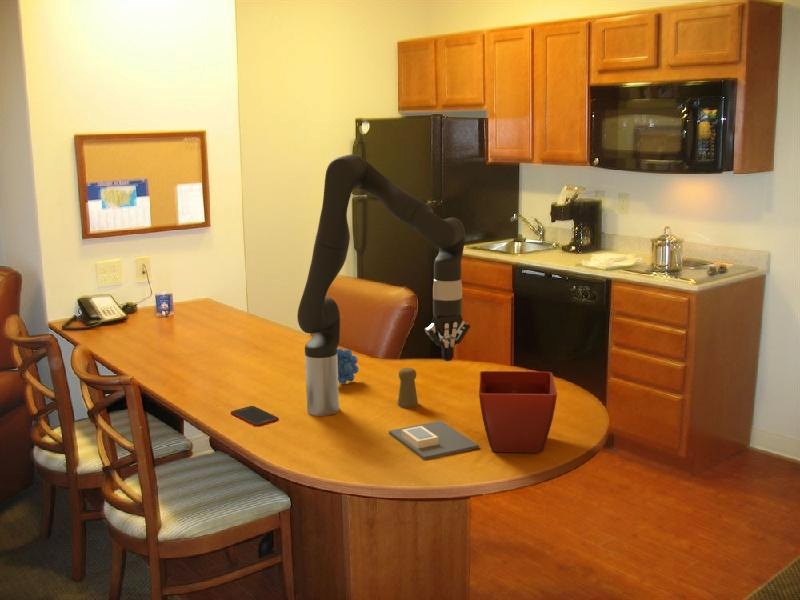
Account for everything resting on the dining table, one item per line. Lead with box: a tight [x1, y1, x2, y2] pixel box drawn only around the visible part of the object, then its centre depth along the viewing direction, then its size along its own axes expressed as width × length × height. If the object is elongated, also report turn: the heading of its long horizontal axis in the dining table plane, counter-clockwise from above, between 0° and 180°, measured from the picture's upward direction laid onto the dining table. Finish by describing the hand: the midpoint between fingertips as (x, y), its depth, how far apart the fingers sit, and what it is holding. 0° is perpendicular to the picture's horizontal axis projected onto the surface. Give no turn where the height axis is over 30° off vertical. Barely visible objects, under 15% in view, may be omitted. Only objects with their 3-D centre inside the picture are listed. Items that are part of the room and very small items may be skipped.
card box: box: [402, 426, 438, 449], centre depth 223 cm, size 9×2×6 cm
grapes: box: [337, 347, 360, 385], centre depth 270 cm, size 12×7×12 cm, turn 127°
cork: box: [397, 367, 419, 409], centre depth 252 cm, size 6×6×11 cm
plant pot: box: [478, 370, 558, 454], centre depth 221 cm, size 19×19×17 cm
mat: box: [388, 420, 480, 461], centre depth 225 cm, size 20×16×1 cm
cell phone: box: [230, 405, 280, 427], centre depth 245 cm, size 8×15×1 cm, turn 41°
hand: (447, 360), depth 225 cm, fingers closed
